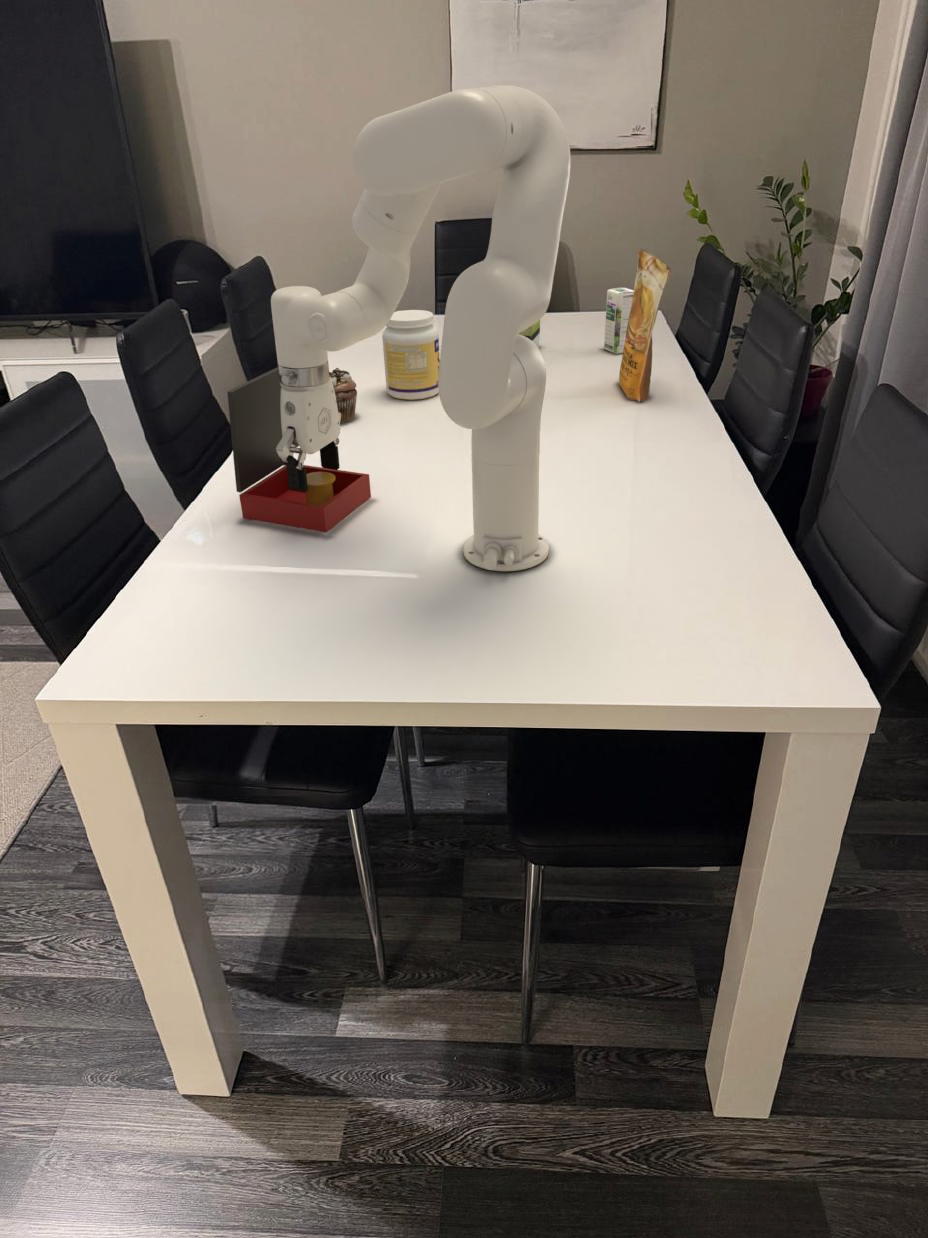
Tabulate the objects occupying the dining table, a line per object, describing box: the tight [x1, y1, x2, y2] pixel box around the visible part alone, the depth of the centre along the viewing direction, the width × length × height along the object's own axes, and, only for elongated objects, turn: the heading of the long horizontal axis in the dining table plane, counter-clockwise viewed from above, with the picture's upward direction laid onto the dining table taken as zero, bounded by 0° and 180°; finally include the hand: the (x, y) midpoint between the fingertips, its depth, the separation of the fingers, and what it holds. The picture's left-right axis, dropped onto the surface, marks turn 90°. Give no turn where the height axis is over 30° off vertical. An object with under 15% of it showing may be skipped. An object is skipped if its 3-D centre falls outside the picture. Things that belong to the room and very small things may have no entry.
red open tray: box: [238, 464, 372, 533], centre depth 150 cm, size 16×15×5 cm
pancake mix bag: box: [618, 248, 672, 403], centre depth 194 cm, size 7×19×28 cm, turn 2°
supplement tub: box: [381, 309, 440, 401], centre depth 201 cm, size 12×12×17 cm
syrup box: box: [603, 287, 634, 355], centre depth 226 cm, size 6×6×14 cm
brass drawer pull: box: [306, 472, 335, 506], centre depth 149 cm, size 6×6×5 cm
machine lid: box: [226, 366, 284, 494], centre depth 147 cm, size 16×15×1 cm
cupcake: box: [329, 367, 358, 425], centre depth 189 cm, size 10×10×10 cm
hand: (315, 479), depth 148 cm, fingers open, 9 cm apart
